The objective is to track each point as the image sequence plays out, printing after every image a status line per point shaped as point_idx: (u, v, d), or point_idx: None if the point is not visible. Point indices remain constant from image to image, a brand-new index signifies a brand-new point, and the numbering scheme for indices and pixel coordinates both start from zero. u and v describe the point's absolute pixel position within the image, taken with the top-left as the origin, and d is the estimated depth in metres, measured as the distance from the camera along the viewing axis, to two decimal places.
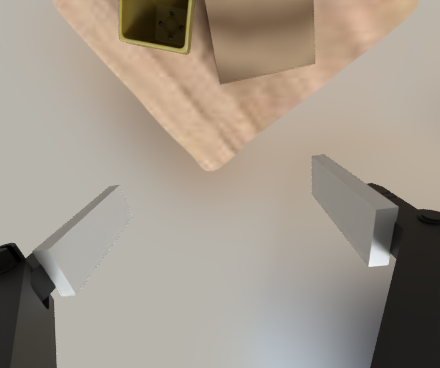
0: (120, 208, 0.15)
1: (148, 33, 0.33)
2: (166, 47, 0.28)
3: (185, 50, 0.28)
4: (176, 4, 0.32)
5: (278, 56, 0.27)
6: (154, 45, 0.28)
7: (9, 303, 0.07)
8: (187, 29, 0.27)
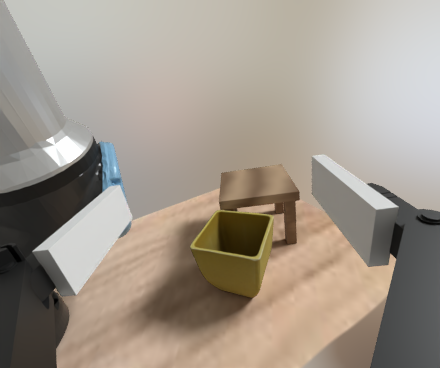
0: (120, 208, 0.15)
1: None
2: (268, 225, 0.28)
3: (271, 215, 0.30)
4: None
5: (277, 173, 0.39)
6: (266, 233, 0.26)
7: (10, 303, 0.07)
8: (255, 213, 0.31)
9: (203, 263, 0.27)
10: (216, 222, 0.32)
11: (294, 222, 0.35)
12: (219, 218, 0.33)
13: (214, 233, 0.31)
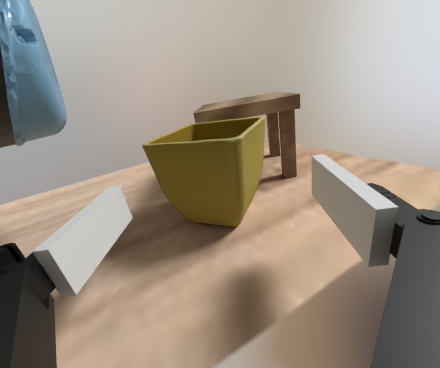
0: (120, 208, 0.15)
1: None
2: (257, 121, 0.19)
3: (262, 117, 0.21)
4: None
5: (271, 94, 0.31)
6: (253, 124, 0.18)
7: (10, 303, 0.07)
8: (240, 118, 0.22)
9: (162, 170, 0.18)
10: (188, 137, 0.24)
11: (293, 145, 0.27)
12: (193, 134, 0.25)
13: None
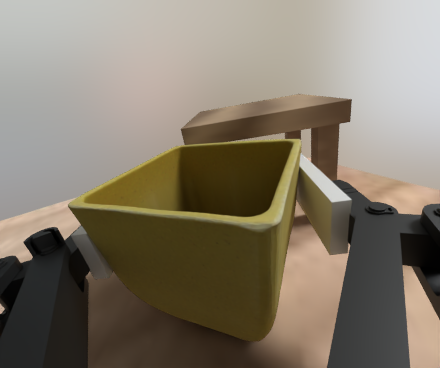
0: None
1: None
2: (293, 151, 0.10)
3: (296, 140, 0.12)
4: None
5: (295, 98, 0.22)
6: (290, 163, 0.09)
7: (50, 285, 0.07)
8: (257, 140, 0.13)
9: (111, 251, 0.09)
10: (172, 169, 0.15)
11: (333, 176, 0.18)
12: (181, 162, 0.16)
13: (165, 189, 0.14)
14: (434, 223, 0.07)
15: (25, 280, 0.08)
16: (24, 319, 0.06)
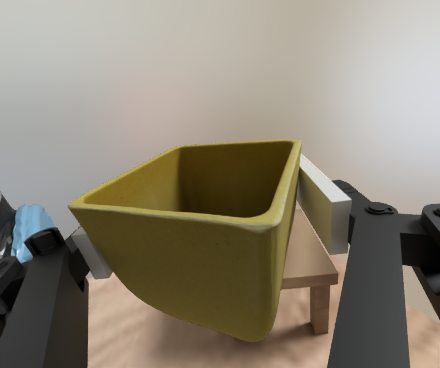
0: None
1: None
2: (293, 152, 0.10)
3: (296, 140, 0.12)
4: None
5: (297, 228, 0.28)
6: (290, 163, 0.09)
7: (50, 284, 0.07)
8: (257, 141, 0.13)
9: (111, 252, 0.09)
10: (172, 169, 0.15)
11: (326, 309, 0.24)
12: (181, 162, 0.16)
13: (165, 189, 0.14)
14: (434, 223, 0.07)
15: (26, 280, 0.08)
16: (24, 319, 0.06)
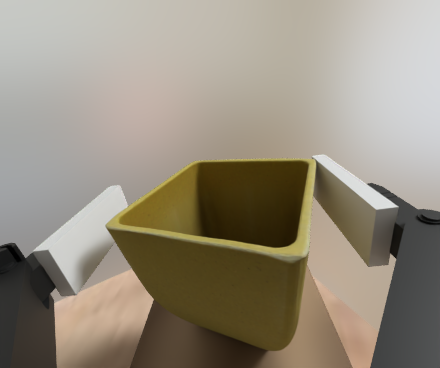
0: (120, 208, 0.15)
1: None
2: (310, 174, 0.11)
3: (311, 160, 0.13)
4: None
5: None
6: (309, 188, 0.10)
7: (10, 303, 0.07)
8: (273, 159, 0.14)
9: (143, 267, 0.10)
10: (190, 183, 0.16)
11: None
12: (198, 176, 0.16)
13: (185, 204, 0.15)
14: None
15: None
16: None
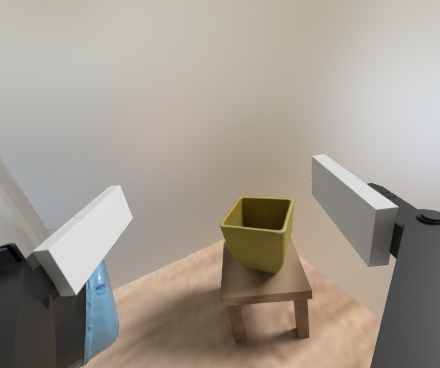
0: (120, 208, 0.15)
1: None
2: (290, 207, 0.31)
3: (292, 199, 0.33)
4: None
5: None
6: (288, 212, 0.29)
7: (10, 303, 0.07)
8: (276, 198, 0.34)
9: (232, 240, 0.30)
10: (240, 207, 0.35)
11: (306, 317, 0.31)
12: (242, 204, 0.36)
13: (238, 217, 0.35)
14: None
15: None
16: None
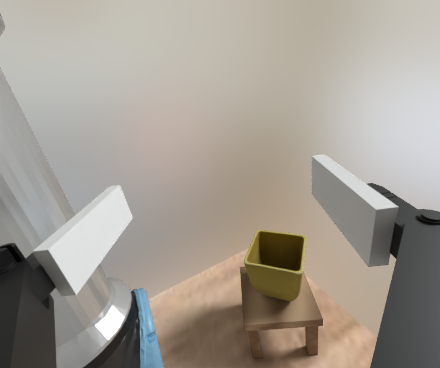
0: (120, 208, 0.15)
1: None
2: (304, 245, 0.35)
3: (304, 236, 0.37)
4: None
5: None
6: (303, 251, 0.34)
7: (10, 303, 0.07)
8: (291, 234, 0.38)
9: (254, 274, 0.34)
10: (257, 240, 0.40)
11: (316, 339, 0.36)
12: (259, 236, 0.41)
13: (256, 249, 0.39)
14: None
15: None
16: None
